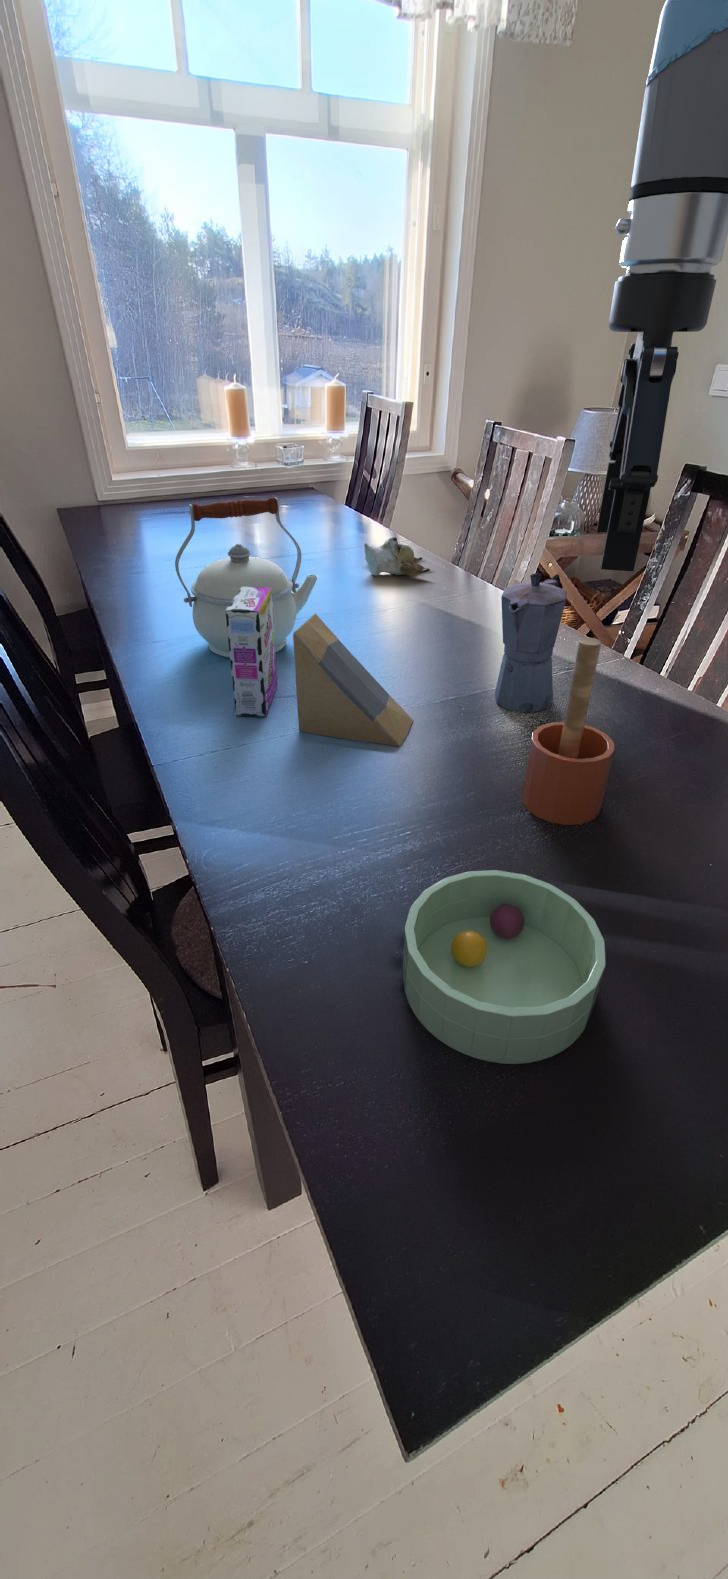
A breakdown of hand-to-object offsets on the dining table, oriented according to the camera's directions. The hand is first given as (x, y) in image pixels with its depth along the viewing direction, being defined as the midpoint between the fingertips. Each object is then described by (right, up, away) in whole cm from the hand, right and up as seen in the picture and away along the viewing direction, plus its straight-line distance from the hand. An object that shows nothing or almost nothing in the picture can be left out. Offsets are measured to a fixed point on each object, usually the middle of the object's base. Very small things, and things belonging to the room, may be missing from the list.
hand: (613, 549), depth 66 cm
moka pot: (+1, -9, +43) cm, 44 cm away
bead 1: (-14, -37, -4) cm, 40 cm away
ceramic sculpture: (-17, +28, +97) cm, 102 cm away
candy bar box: (-40, -9, +42) cm, 59 cm away
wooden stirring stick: (-1, -25, +17) cm, 30 cm away
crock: (0, -26, +17) cm, 31 cm away
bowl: (-12, -40, -4) cm, 42 cm away
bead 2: (-10, -35, -1) cm, 37 cm away
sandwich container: (-25, -14, +35) cm, 45 cm away
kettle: (-44, +4, +62) cm, 76 cm away
